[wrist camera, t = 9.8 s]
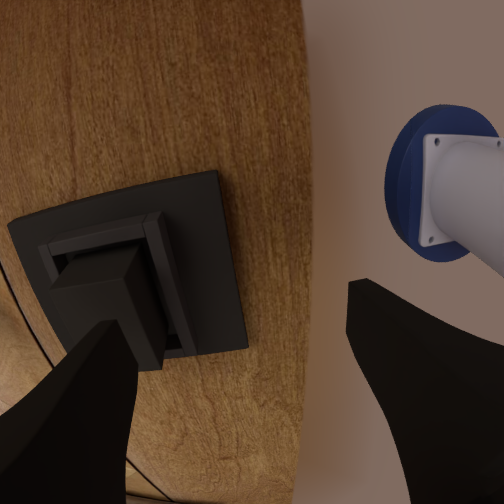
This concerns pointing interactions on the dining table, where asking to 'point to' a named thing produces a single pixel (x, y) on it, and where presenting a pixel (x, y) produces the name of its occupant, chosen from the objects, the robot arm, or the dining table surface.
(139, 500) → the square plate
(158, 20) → the dining table surface
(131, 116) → the dining table surface
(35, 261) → the base pad
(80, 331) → the small block
